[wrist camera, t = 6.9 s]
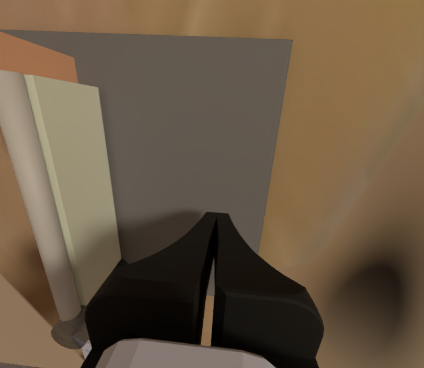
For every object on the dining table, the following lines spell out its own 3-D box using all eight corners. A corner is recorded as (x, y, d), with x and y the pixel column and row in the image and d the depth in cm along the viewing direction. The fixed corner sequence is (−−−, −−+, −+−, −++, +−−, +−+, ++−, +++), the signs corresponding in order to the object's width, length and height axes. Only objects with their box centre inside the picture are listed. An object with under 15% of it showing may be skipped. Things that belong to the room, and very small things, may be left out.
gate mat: (250, 295, 17) (250, 299, 16) (68, 276, 18) (65, 279, 17) (290, 42, 10) (292, 39, 10) (6, 32, 11) (-1, 29, 11)
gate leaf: (121, 258, 15) (74, 322, 11) (106, 256, 15) (52, 320, 11) (97, 87, 11) (4, 69, 7) (77, 86, 11) (-30, 68, 7)
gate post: (133, 274, 17) (88, 351, 11) (110, 271, 17) (55, 347, 12) (131, 255, 16) (82, 327, 11) (107, 252, 16) (47, 323, 11)
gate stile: (83, 113, 12) (-8, 115, 8) (58, 112, 12) (-47, 112, 8) (73, 57, 11) (-38, 17, 6) (47, 56, 11) (-83, 16, 7)
